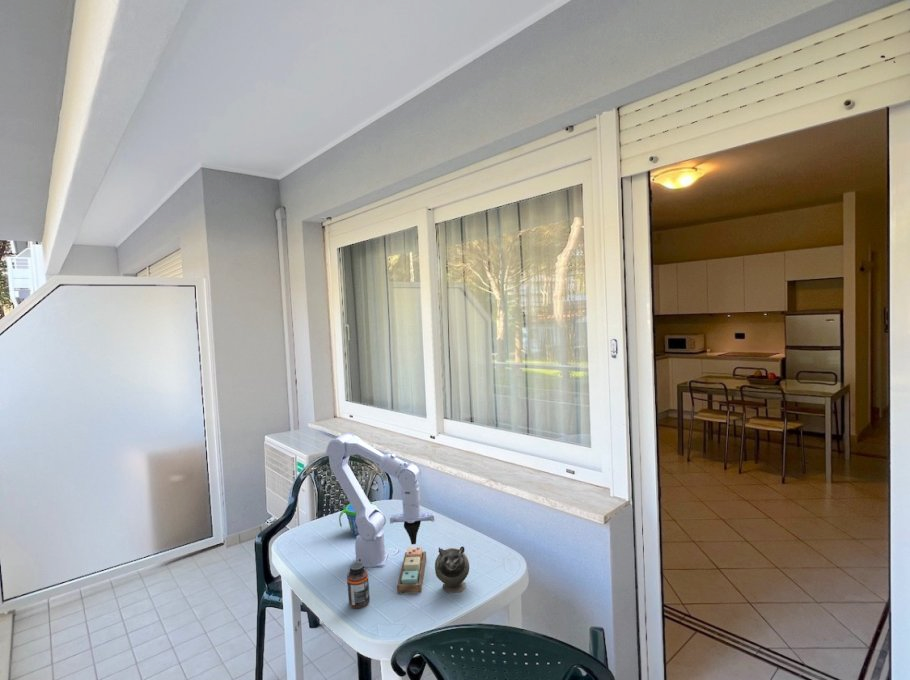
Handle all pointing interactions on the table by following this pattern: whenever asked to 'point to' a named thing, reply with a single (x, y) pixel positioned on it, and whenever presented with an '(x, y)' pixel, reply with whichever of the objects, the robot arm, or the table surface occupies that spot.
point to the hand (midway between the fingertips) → (413, 542)
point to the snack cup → (351, 518)
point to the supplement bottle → (358, 585)
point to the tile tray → (412, 587)
